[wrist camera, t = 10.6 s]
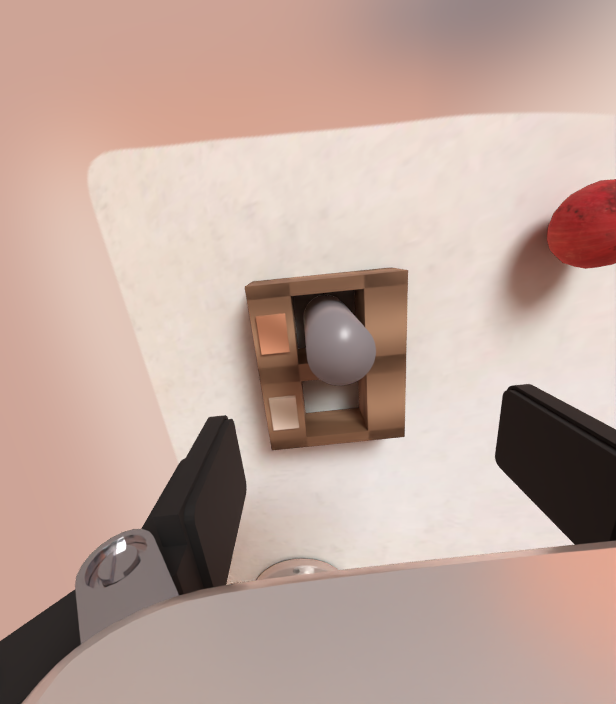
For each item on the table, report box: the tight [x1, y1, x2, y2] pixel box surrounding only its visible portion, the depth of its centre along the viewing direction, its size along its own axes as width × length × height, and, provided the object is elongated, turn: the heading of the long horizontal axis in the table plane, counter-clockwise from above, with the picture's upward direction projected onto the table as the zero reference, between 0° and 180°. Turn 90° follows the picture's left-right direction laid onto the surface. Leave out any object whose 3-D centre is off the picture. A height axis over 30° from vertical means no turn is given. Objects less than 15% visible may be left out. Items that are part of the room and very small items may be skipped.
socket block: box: [245, 268, 408, 450], centre depth 25 cm, size 14×12×4 cm
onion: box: [547, 179, 616, 269], centre depth 20 cm, size 6×6×8 cm
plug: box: [303, 295, 376, 386], centre depth 21 cm, size 4×4×10 cm
